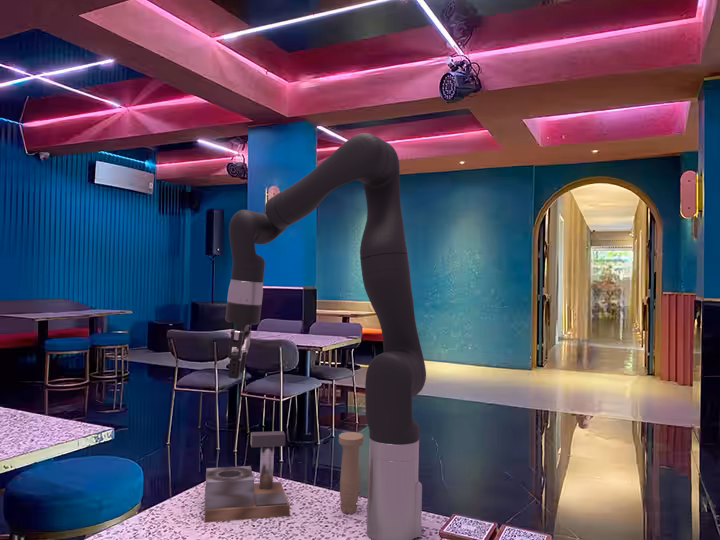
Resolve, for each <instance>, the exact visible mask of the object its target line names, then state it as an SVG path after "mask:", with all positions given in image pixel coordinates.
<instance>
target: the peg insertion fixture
mask: <svg viewBox="0 0 720 540" xmlns="http://www.w3.org/2000/svg"><path fill="white" fill-rule="evenodd" d="M251 466H252V465H247V466H246V465H245V466H243V465H241V466H228V467H226V466H225V467H206V472H205V486H204V523H212V522H222V521H224V522H225V521H236V520H249V519H250V520H251V519H263V518H278V517H277V516H279V517H289V516H291V515H290V511H291V510H290V509H291V508H290V507H291V505H290V502H289V500H288V497H287V494H286V493H285V490H284V488H283V485H282V482H281V481H278V482H274V481H273V488H272V489H269V490H262V489H260V488H259V482H258V483H255V478H254V473H253V470H252V467H251Z"/></svg>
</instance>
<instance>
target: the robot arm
mask: <svg viewBox="0 0 720 540" xmlns="http://www.w3.org/2000/svg"><path fill="white" fill-rule="evenodd" d="M400 172H401V171H400V160H399V156H398V153H397V151H396V149H395V148H394V147H393V145H392V144H390V143H389V142H388V141H386V140H385V139H382V138H380V137H379V136H377V135H375V134H372V133H369V132H361V133H357V134H355V135H354V136H352V137H350V138H349V139H348V140H346V141H345V142H344V143H342V144H341V145H340V146H339V147H338V148H337V149H335V151H333V152H332V153H331V154H330V155H329V156H328V157H326V159H324V160H323V161H322V162H321V163H319V164H318V165H317V166H316V167H315V168H314V169H312V170H311V171H310V172H309V173H308V174H306V175H305V176H303V177H302V178H301V179H300V180H298V181H296V182H295V183H294V184H292V185H290V186H288V187H287V188H285V189H283V190H281V191H280V192H278V193H277V194H275V195H273V196H272V197H270V198H269V199H268V200H267V202H266V203H265V206H264V212H258V211H257V212H256V211H253V210H248V209H240V210H237V212H235V213H234V214H233V216H232V217H231V218H230V222H229V224H228V225H229V226H228V237H229V244H230V251H231V256H232V266H231V267H232V268H231V275H230V276H231V277H230V282H229V286H228V291H227V300H226V301H227V302H226V308H225V309H226V310H225V317H224V319H225V321H226V322H227V323H230V324H234V329H231V331H230V335H229V336H230V339H229V345H228V354H227V358H228V359H229V364H228V366H229V367H228V375H227V376H228V378H229V379H235V380H237V379H239V378H240V372H244V371H245V370H246V369H245V368H246V360H247V354H248V352H249V349H250V345H251V337H252V331H251V330H252V326H255V325H258V324H260V322H261V315H262V314H261V313H262V303H263V295H264V288H263V287H264V277H265V267H266V266H265V265H266V264H265V259H264V257H262V256H261V255H259V254H257V252H256V248H255V247H256V245H265V244H268V243H270V242H272V241H274V240H275V239H277V238H278V237H279V236H280V235H281V234H282V233H283V232H284V231H285V230H286V229H287V227H288V226H290V225H293V224H294V223H296V222H298V221H300V220H301V219H303V218H306V217H307V216H308V215H310V214H311V213H312V212H313V211H315V210H316V209H317V207H319V206H320V204H321V203H322V202H323V201H324V199H325V198H326V197H327V196H328V195H329V194H330V193H331V192H333V191H334V190H337V188H339V187H341V186H343V185H347V184H348V183H351V182H353V181H357V182H360V183H362V185H363V189H364V195H365V201H366V209H367V212H366V214H367V215H366V222H365V226H364V229H363V233H362V237H361V240H360V247H359V256H360V257H359V260H360V268H361V276H362V282H363V287H364V290H365V294H366V295H367V298H368V301H369V302H370V304H371V307H372V309H373V311H374V312H375V315H376V318H377V319H378V323H379V326H380V330H381V336H382V345H383V352H382V353H380V354H379V353H378V354H377V355H375V356H374V357H373V358H372V359H371V361H370V362H369V363H368V366H367V368H366V374H365V383H364V384H365V386H364V388H365V398H364V400H365V420H366V421H365V422H366V424H367V426H368V430H369V433H368V435H369V438H368V471H367V472H368V473H367V506H366V508H367V509H366V534H367V536H368V537H369V538H370V539H372V540H412V539H413V540H415V539H418V538H417V537H421V538H422V508H423V507H422V505H423V504H422V503H423V500H422V499H423V484H422V483H421V482H420V481H419V459H420V458H419V456H420V455H419V453H420V452H419V450H420V449H419V448H420V426H419V425H420V424H418V422H417V421H415V420H414V418H413V406H412V405H413V399H412V398H413V397H416V396H417V395H418V394H420V393H421V392H422V390H423V388H424V387H425V383H426V380H427V369H426V363H425V359H424V356H423V355H424V354H423V351H422V346H421V341H420V337H419V333H418V330H417V329H418V328H417V323H416V317H415V304H414V298H413V291H412V282H411V270H410V265H409V264H410V262H409V256H408V248H407V244H406V243H407V242H406V236H405V229H404V228H405V227H404V220H403V215H402V214H403V213H402V206H401V205H402V204H401V183H400V181H401V178H400V175H401V174H400ZM414 538H415V539H414Z"/></svg>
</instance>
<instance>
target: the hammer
mask: <svg viewBox="0 0 720 540" xmlns="http://www.w3.org/2000/svg"><path fill="white" fill-rule="evenodd" d="M285 446H286V434H285V432H284V431H283V430H282V431H281V430H280V431H279V430H277V431H276V430H275V431H251V432H250V447H251V448H260V459H259V460H260V461H259V463H260V465H259V482H258V483H259V488H260V489H262V490H269V489H272V488H273V482H274V464H275V463H274V458H275V456H274V455H275V447H285Z"/></svg>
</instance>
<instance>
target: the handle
mask: <svg viewBox="0 0 720 540" xmlns="http://www.w3.org/2000/svg"><path fill="white" fill-rule="evenodd" d="M363 443H364V434H363V433H360V432H355V431H345V432H341V433H339V434H338V444H339V445H340V446H341V447H342V455H341V466H340V479H339V498H340V499H339V500H340V510H341V511H342V512H343V514H353V513H356V512H357V510H358V502H359V501H358V500H359V493H360V467H359V466H360V465H359V464H360V463H359V462H360V461H359V460H360V458H359V457H360V456H359V453H360V452H359V449H360V447H361V446H362V445H363Z"/></svg>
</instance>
